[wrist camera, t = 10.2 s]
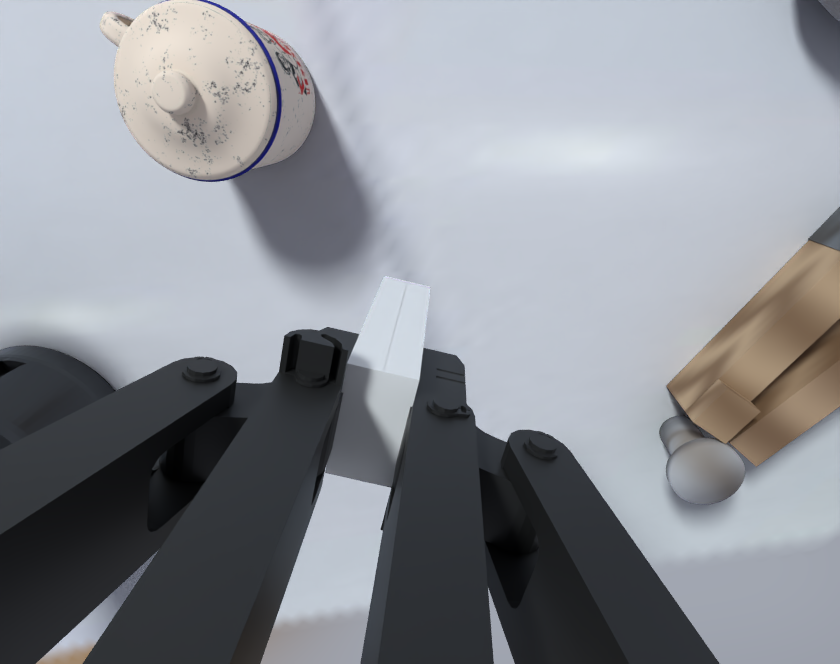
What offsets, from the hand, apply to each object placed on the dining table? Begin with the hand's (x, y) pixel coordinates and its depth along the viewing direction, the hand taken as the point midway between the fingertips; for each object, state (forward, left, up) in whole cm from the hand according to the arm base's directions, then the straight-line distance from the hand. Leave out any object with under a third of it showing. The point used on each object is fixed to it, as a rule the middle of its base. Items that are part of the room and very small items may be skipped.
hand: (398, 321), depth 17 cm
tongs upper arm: (+8, -25, -23) cm, 35 cm away
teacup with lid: (-3, +16, -23) cm, 28 cm away
